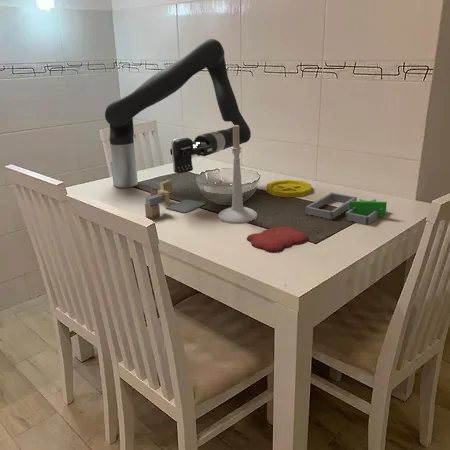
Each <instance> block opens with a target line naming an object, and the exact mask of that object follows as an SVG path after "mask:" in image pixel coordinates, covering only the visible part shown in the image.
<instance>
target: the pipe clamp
mask: <svg viewBox="0 0 450 450" xmlns="http://www.w3.org/2000/svg"><path fill="white" fill-rule="evenodd" d="M353 207H355V208H356V209H355V210H354V214H359V215H364V216H368V215H369V214H371V213H372V212H374V211H375V210H378V216H379V217H387V201H377V199H375V198H374V199H373V200H365V199H362V198H360V199H359V201H358V200H357V201H350V209H353ZM380 208H383V210H380ZM350 209H349V210H350Z"/></svg>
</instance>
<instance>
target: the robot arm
mask: <svg viewBox="0 0 450 450" xmlns="http://www.w3.org/2000/svg"><path fill="white" fill-rule="evenodd" d="M204 69H207V71H208V74H209V76H210V79H211V82H212V85H213V89H214V93H215V97H216V101H217V107H218V109H219V112H220V115H221V118H222V120H223V121H224V122H228V123H229V122H230V123H232V125H233V126H234V125H239V143H240V145H242V144H244V143H248V142H249V141H250V140H251V137H252V133H251V129H250V127H249V125H248V123H247V122H246V120H245V118H244V117H243V116H242V115H243V114H242V113H241V111H240V109H239V106H238V103H237V99H236V95H235V94H234V90H233V88H232V85H231V82H230V79H229V76H228V71H227V67H226V59H225V49H224V47H223V44H222V43H221V42H220V41H219V40H217V39H214V38H207V39H205V40H203V41H202V42H200V44H198V45H197V46H196V47H195V48H193V49H192V50H191V51H190V52H189V53H187V54H186V55H185V56H183V57H181V58H180V59H178V60H176V61H174V62H173V63H171V64H169V65H168V66H166V67H164V68H162V69H161V70H159V71H158V72H157V73H155V74H153V75H152V76H151V77H149V78H148V79H147V80H146V81H144V82H143V83H142V84H141V85H139V86H138V87H137V88H136V89H135V90H134V91H133V92H131V93H130V94H128V95H126V96H124V97H122V98H120V99H118V100H114V101H113V102H111V103H109V104H108V105H107V107H106V108H105V112H104V118H105V120H106V122H107V124H108V125H109V138H108V139H109V145H110V147H109V148H110V153H111V161H110V166H111V167H110V168H111V173H112V175H111V176H112V184H113V185H114V186H115V187H117V188H121V189H122V188H132V187H135V186H138V184H139V182H138V181H139V180H138V170H137V161H136V159H137V158H136V150H135V142H134V141H135V140H134V137H135V136H134V135H135V134H134V131H135V129H134V119H133V118H134V117H135V116H137V115H138V114H139V113H141V112H142V111H144V110H146V109H147V108H150V107H152V106H153V105H155V104H157V103H159V102H161V101H163V100H165V99H166V98H168V97H169V96H171V95H173V94H174V93H176V92H177V91H179V89H181V88H182V87H183V86H184V85H185V84H186V83H187V82H189V80H190V79H191V78H192V77H193V76H194V75H196V74H197V73H200V72H201V71H203V70H204ZM233 126H232V127H230V128H227V129H221V130H217V131H210V132H206V133H203V134H199V135H197V136H196V137H195V138H194V140H192V142H193V147H192V148H191V149H186V150H183V152H182V153H183V157H187V156H191V155H192V156H193V157H194V156H197V157H200V156H201V157H207V156H210V155H212V154H216V153H219V152H220V151H223V150H227V149H228V148H231V147H233ZM169 153H170V155H171V156H172V147H171V148H170V149H169Z"/></svg>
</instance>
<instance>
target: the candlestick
mask: <svg viewBox="0 0 450 450" xmlns="http://www.w3.org/2000/svg"><path fill="white" fill-rule="evenodd" d="M232 127H233V147H230V148H231V150H232V154H233V160H232V161H233V162H232V163H233V168H232V169H233V170H232V171H233V172H232V194H231V195H232V198H231V200H232V201H231V207H230V206H229V207H227V208H225V209H222V210H221V211H220V212H219V213H218V216H217V218H218V220H220V221H221V222H223V223H227V224H235V225H236V224H238V225H239V224H247V223H250V222H249V221H251V222H253V221H252V220H254V219H255V220H257V218H258V212H256V211H255V210H254V209H252V208H249V207H246V206H244V202H243V201H244V200H243V187H242V186H243V185H242V171H241V158H240V154H241V153H242V151H241V150H242V149H243V146H241V144H240V143H239V125H234V124H233V125H232ZM255 220H254V221H255Z"/></svg>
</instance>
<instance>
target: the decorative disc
mask: <svg viewBox="0 0 450 450" xmlns="http://www.w3.org/2000/svg"><path fill="white" fill-rule="evenodd" d="M265 189H266V191H265V192H266V193H268V194H270V195H272V196H274V197H284V198H295V197H296V198H297V197H305V196H306V195H310V194H311V193H312V190H313V189H312V184H311V183H309V182H307V181H303V180H298V179H281V180H274V181H271V182H267V183H266V188H265Z"/></svg>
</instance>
